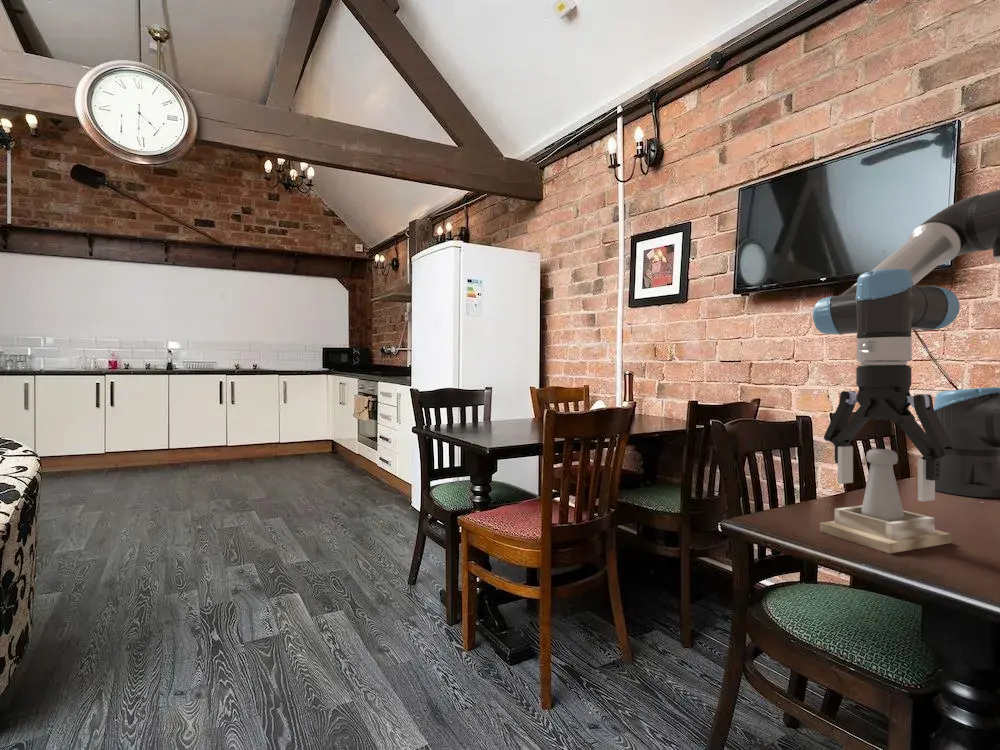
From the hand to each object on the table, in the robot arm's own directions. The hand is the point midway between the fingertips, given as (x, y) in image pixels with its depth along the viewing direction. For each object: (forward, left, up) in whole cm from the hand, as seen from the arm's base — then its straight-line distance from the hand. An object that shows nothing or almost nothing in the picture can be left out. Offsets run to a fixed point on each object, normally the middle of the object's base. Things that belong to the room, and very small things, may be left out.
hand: (883, 491), depth 91 cm
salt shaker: (0, 0, -6) cm, 6 cm away
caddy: (0, 0, -8) cm, 8 cm away
